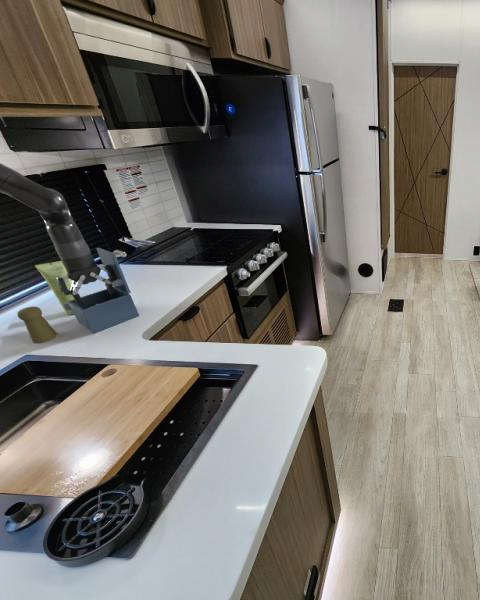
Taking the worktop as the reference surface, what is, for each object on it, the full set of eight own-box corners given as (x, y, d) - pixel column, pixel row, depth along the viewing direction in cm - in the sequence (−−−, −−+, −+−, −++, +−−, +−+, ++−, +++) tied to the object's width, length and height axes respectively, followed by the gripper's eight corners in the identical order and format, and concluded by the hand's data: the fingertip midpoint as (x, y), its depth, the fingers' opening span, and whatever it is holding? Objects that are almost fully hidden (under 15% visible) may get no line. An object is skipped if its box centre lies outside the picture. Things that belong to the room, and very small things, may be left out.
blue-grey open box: (94, 333, 110) (81, 310, 106) (79, 323, 116) (67, 301, 112) (139, 315, 120) (130, 294, 116) (123, 307, 126) (114, 286, 122)
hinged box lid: (112, 254, 109) (129, 250, 113) (96, 248, 115) (113, 244, 119) (128, 293, 116) (144, 288, 119) (112, 285, 121) (127, 281, 125)
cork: (38, 334, 110) (20, 306, 105) (61, 331, 112) (44, 302, 106) (27, 344, 105) (8, 315, 100) (51, 340, 107) (33, 311, 101)
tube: (77, 307, 126) (51, 259, 117) (89, 307, 126) (64, 259, 117) (62, 314, 121) (34, 265, 112) (74, 315, 121) (47, 265, 112)
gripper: (97, 245, 113) (116, 288, 120) (41, 258, 102) (66, 304, 110) (106, 249, 109) (125, 293, 117) (49, 262, 99) (75, 310, 106)
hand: (96, 298), depth 113 cm, fingers open, 8 cm apart
